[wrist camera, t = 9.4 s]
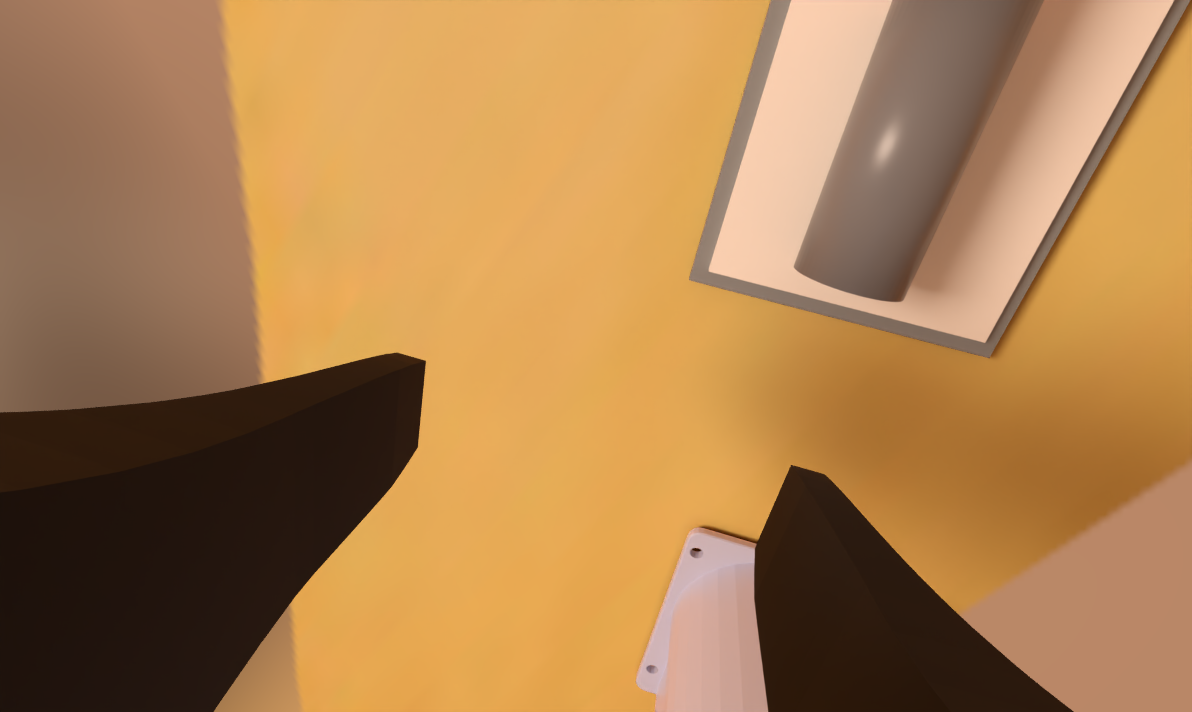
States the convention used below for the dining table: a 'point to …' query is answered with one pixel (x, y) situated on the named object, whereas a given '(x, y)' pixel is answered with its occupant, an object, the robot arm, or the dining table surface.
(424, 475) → the dining table surface
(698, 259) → the notepad
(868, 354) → the dining table surface
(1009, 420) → the dining table surface
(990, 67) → the marker
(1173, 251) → the dining table surface
